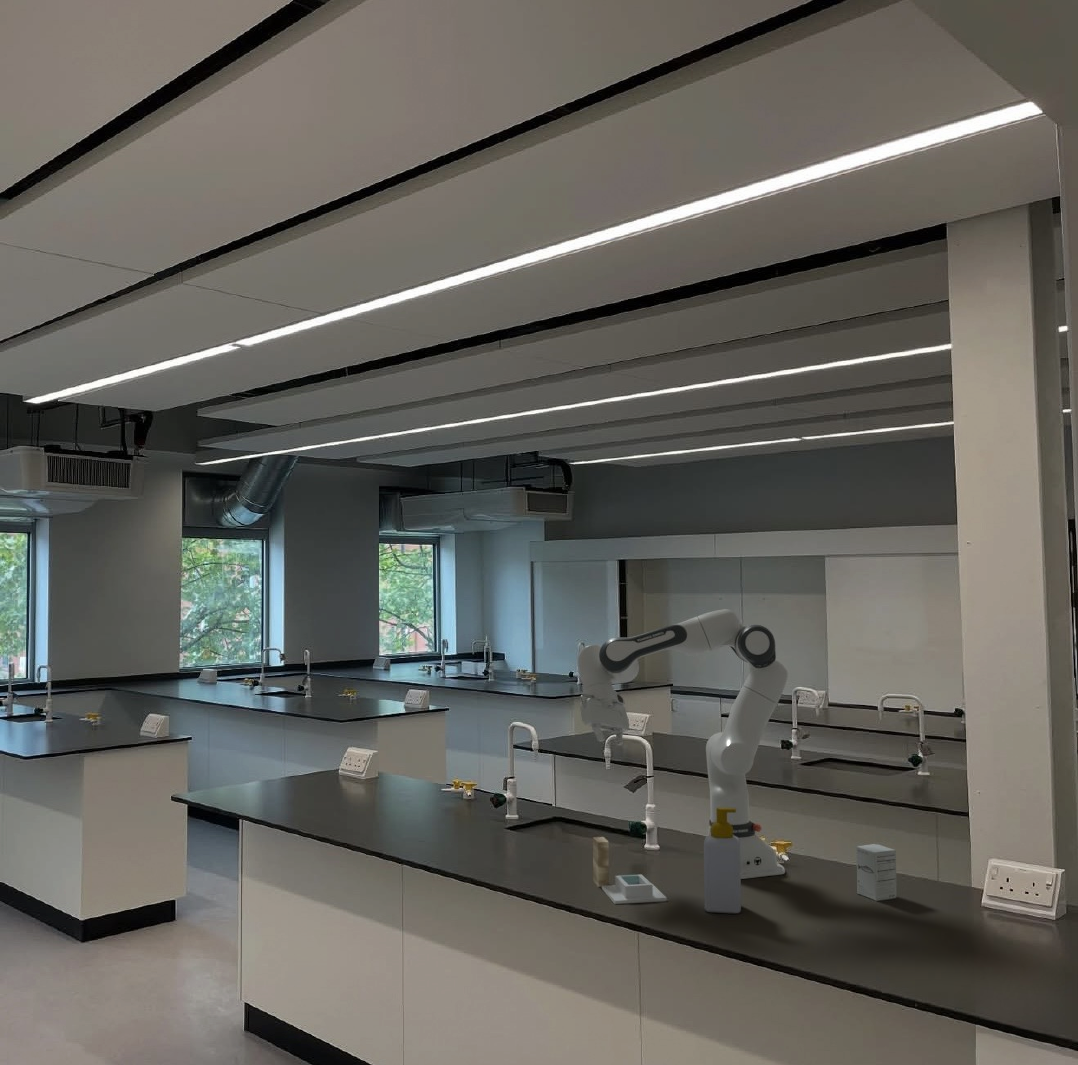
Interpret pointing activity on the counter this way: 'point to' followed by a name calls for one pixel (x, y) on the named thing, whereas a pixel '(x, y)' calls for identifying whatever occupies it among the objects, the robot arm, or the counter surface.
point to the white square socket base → (633, 890)
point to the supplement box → (876, 872)
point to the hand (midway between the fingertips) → (610, 742)
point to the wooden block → (600, 861)
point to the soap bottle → (722, 866)
